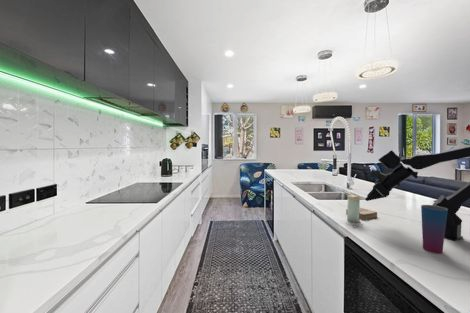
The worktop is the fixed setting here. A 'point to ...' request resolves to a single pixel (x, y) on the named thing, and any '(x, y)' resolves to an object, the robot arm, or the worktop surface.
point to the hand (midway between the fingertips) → (366, 198)
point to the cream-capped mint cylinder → (353, 208)
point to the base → (366, 213)
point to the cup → (433, 227)
